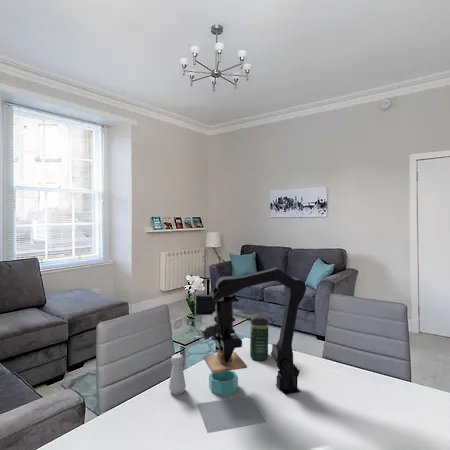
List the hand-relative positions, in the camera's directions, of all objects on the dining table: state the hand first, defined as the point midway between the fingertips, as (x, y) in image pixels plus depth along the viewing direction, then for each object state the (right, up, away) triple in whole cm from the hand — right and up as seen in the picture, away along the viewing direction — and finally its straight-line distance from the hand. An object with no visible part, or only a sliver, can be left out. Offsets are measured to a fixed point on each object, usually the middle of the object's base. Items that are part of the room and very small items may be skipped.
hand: (224, 359), depth 112 cm
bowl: (0, -12, +3) cm, 12 cm away
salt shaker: (-16, -12, 0) cm, 20 cm away
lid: (0, -1, 0) cm, 1 cm away
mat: (+2, -12, -12) cm, 17 cm away
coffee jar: (+15, -12, +32) cm, 37 cm away
